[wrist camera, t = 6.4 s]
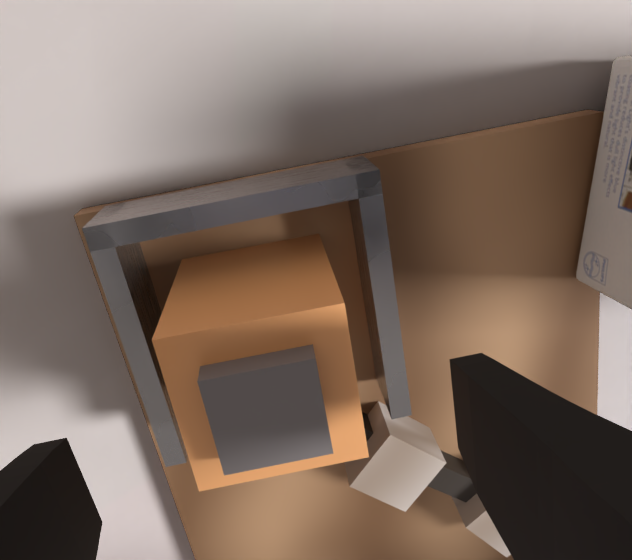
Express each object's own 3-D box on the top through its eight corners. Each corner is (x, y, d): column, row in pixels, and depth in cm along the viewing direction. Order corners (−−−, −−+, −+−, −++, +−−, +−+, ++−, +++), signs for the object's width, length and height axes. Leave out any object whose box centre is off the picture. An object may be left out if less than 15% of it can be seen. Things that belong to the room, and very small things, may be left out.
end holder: (362, 155, 15) (379, 169, 13) (394, 375, 18) (411, 415, 16) (105, 205, 15) (81, 228, 13) (176, 420, 18) (165, 467, 16)
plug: (318, 233, 16) (349, 315, 11) (339, 353, 18) (373, 474, 12) (181, 259, 16) (146, 354, 11) (214, 377, 17) (196, 511, 12)
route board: (587, 109, 16) (650, 118, 14) (582, 648, 25) (619, 715, 23) (82, 208, 16) (48, 237, 13) (259, 720, 25) (259, 797, 22)
